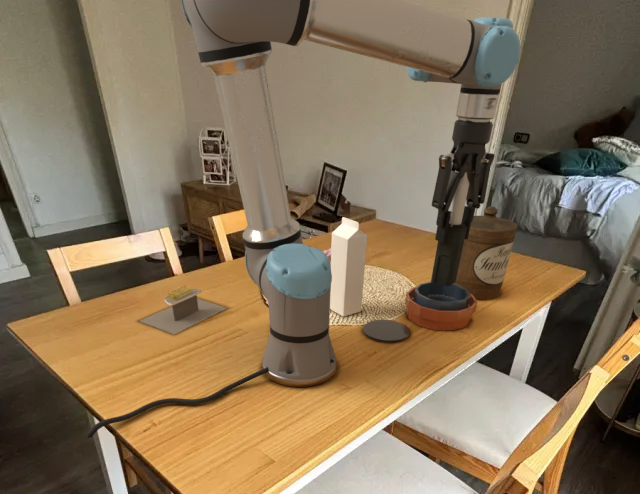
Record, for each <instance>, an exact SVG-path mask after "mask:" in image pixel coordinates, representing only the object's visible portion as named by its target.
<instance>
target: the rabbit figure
mask: <svg viewBox="0 0 640 494" xmlns="http://www.w3.org/2000/svg"><path fill="white" fill-rule="evenodd" d="M322 251H323V252H324V253H325V254H326V255H327V256H328V258H329V259H331V247H329V248H328V249H324V250H322Z"/></svg>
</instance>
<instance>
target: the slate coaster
mask: <svg viewBox="0 0 640 494" xmlns="http://www.w3.org/2000/svg"><path fill="white" fill-rule="evenodd" d="M362 333H363V335H364V336H365V337H366V338H368V339H370V340H372V341H375V342H379V343H385V344H386V343H387V344H389V343H390V344H393V343H400V342H404V341H405V340H406V339H408V338H409V337H410V333H411V331H410V329H409V327H408V326H407V325H405V324H404V323H402V322H399V321H396V320H391V319H375V320H371V321H368V322H366V323H365V324H364V325H363V327H362Z"/></svg>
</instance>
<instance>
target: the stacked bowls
mask: <svg viewBox="0 0 640 494" xmlns="http://www.w3.org/2000/svg"><path fill="white" fill-rule="evenodd" d="M404 304H405V307H406V309H405V314H406V316H407V319H408V321H411V322H412V323H414V324H416V325H417V326H419V327H423V328H427V329H431V330H435V331H455V330H459V329H463V328H465V327H467V326H468V324H469V323H470V322H471V321H472V318H473V316H474V314H475V312H476V311H477V305H478V299H475V297H474V296H473V295H472V294H470V293H469V292H468V290H467V289H465V288H463V287H461V286H459V285H456V284H452V285H451V286H445V285H441V284H437V283H432V282H431V281H427V282H421V283H419V284H418V285H417V286H414V287H413V286H412V287H411V288H410V289H409V290H408V291H407V292H406V293H405V298H404Z"/></svg>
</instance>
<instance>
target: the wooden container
mask: <svg viewBox="0 0 640 494" xmlns="http://www.w3.org/2000/svg"><path fill="white" fill-rule="evenodd" d="M498 212H499V210H498V208H496V206H491V205H490V206H488V207H485V208H484V210H483V213H484V215H474V218H473V221H472V222H471V226H470V230H469V235H468V239H464V244H463V249H462V254H461V258H460V263H459V268H458V273H457V278H456V282H455V283H453V284H456V285H459V286H461V287H463V288H465V289H467V290H468V292H469V293H470V294H472V295H473V296H474V297H475V299H476V300H481V301H483V300H491V299H495V298H497V297H498V296H500V294H501V291H502V287H503V283H504V281H505V276H506V273H507V270H508V265H509V261H510V257H511V254H512V253H511V252H512V249H513V245H514V240H515V237H516V234H517V231H518V224H517V223H516V222H514V221H512V220H509V219H507V218H503V217H498V216H496V215H498Z"/></svg>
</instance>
